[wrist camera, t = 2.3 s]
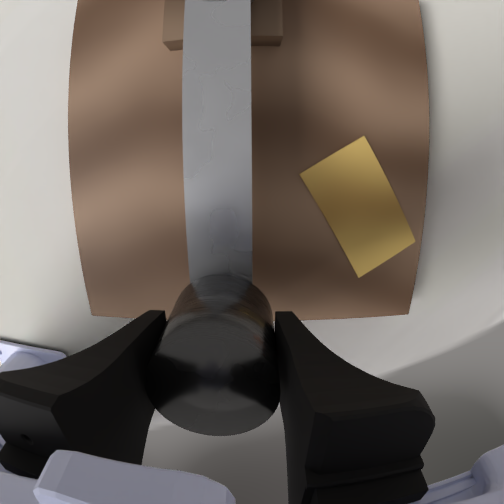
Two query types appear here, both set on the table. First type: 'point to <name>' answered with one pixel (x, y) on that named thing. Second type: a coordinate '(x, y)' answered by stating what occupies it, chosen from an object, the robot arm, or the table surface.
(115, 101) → the cracker board
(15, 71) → the table surface
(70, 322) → the table surface
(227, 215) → the lever
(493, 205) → the table surface
